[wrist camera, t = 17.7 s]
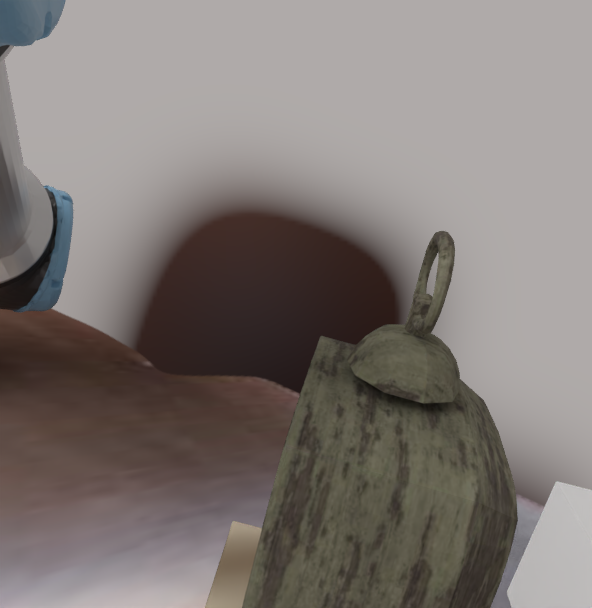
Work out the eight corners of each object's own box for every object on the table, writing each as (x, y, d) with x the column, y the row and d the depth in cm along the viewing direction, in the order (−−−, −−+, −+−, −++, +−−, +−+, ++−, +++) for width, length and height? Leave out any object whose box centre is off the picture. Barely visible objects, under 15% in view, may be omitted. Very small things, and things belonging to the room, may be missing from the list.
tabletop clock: (265, 555, 39) (358, 194, 31) (395, 595, 38) (523, 235, 30) (197, 785, 25) (335, 236, 17) (398, 855, 24) (635, 313, 16)
